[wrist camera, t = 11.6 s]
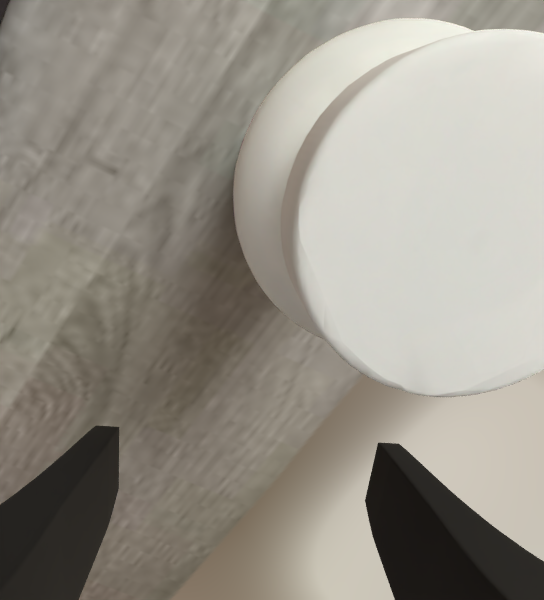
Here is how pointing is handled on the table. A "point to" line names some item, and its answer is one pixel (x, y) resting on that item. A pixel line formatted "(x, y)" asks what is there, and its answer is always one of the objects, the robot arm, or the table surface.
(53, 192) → the table surface
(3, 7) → the notebook
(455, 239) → the pill bottle
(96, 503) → the robot arm
